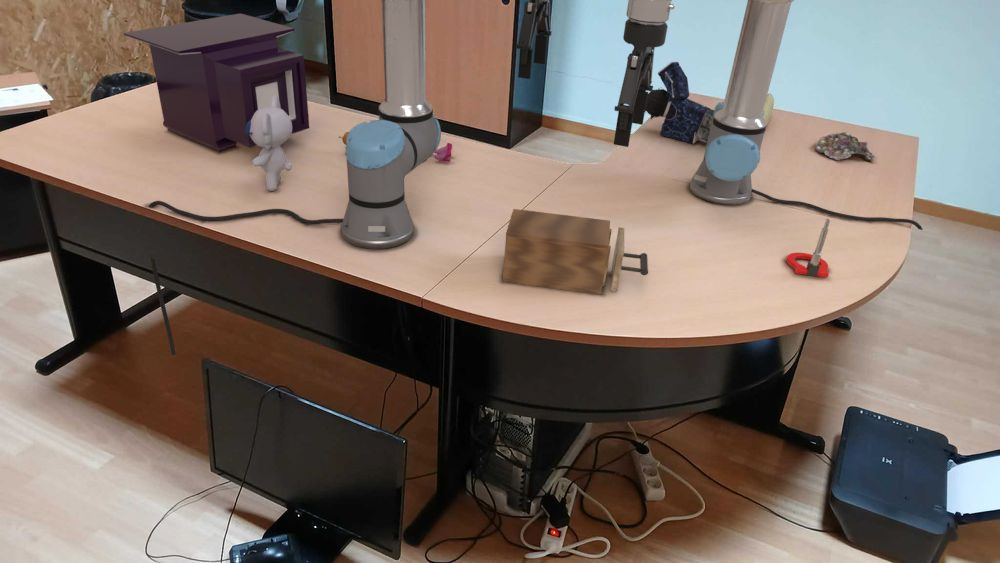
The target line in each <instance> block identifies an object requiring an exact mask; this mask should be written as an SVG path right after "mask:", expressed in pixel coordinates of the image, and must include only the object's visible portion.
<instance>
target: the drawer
mask: <svg viewBox="0 0 1000 563" xmlns="http://www.w3.org/2000/svg"><path fill="white" fill-rule="evenodd" d="M612 230H613V229H612V228H610V234H609V244H610V243H611V238H612V232H613V231H612ZM611 250H612V246H611V245H609V249H608V255H607V261H606V267H605V273H604V280H603V286H602V287H606V280H607V274H608V267H609V261H610V255H611ZM624 258H630V259H639V267H632V266H624V265H623V259H624ZM621 271H625V272H633V273H640V275H642V276H647V275H648V274H649V258H648V254H647V253H646V252H642V253H640V254H636V253H628V252H627V253H626V252H625V227H620V226H618V228H617V233H616V239H615V246H614V251H613V258H612V265H611V280H610V281H611V283H610V290H611V291H612V292H613V291H614V292H618V289H619V283H620V277H621Z"/></svg>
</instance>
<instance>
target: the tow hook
mask: <svg viewBox="0 0 1000 563" xmlns="http://www.w3.org/2000/svg"><path fill="white" fill-rule="evenodd" d="M830 222H831V219H830V218H826V219H825V222H824V225H823V227H822V228H821V231H820V234H819V236H818V240H817V244H816V247H815V250H814V252H813V253H812V254H811V253H807V252H791V253H789V254H788V255H787V256H786V262H787V264H788V265H789V266H790V267H791V268H793V269H794V273H795V274H799V275H806V276H811V277H821V278H828V277H829V274H830V272H829V270H828V269H829V264H828V263H827V261H825V260H824V259H823V258H821V257H822V251H823V247H824V244H825V241H826V238H827V235H828V232H829V225H830ZM798 259H803V260H808V262H807V264H806V266H805V265H803V264H800V263H799V262H797V261H796V260H798Z"/></svg>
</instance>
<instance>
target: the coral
mask: <svg viewBox="0 0 1000 563" xmlns="http://www.w3.org/2000/svg"><path fill="white" fill-rule="evenodd" d="M815 150H816V151H817V152H818V153H824V155H825V156H827V157H828V158H830V159H832V160H835V161H839V160H840V161H841V160H844V159H848V158H851V157H852V155H853V154H854V155H857V154H859V155H860V156H861V158H863V159H865V160H866V161H871V162H874V160H875V159H874V158H875V155H874V154H873V153H872V152H871V151H870V149H869V147H868V142H867V141H859V139H858V137H855V136H853V135H852V134H851V133H849V132H848V131H846V132H844V131H843V132H836V133H830V134H827V135H826V136H822V137H820V138H819V140H818V141H817V142H816V144H815ZM873 157H874V158H873Z"/></svg>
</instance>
